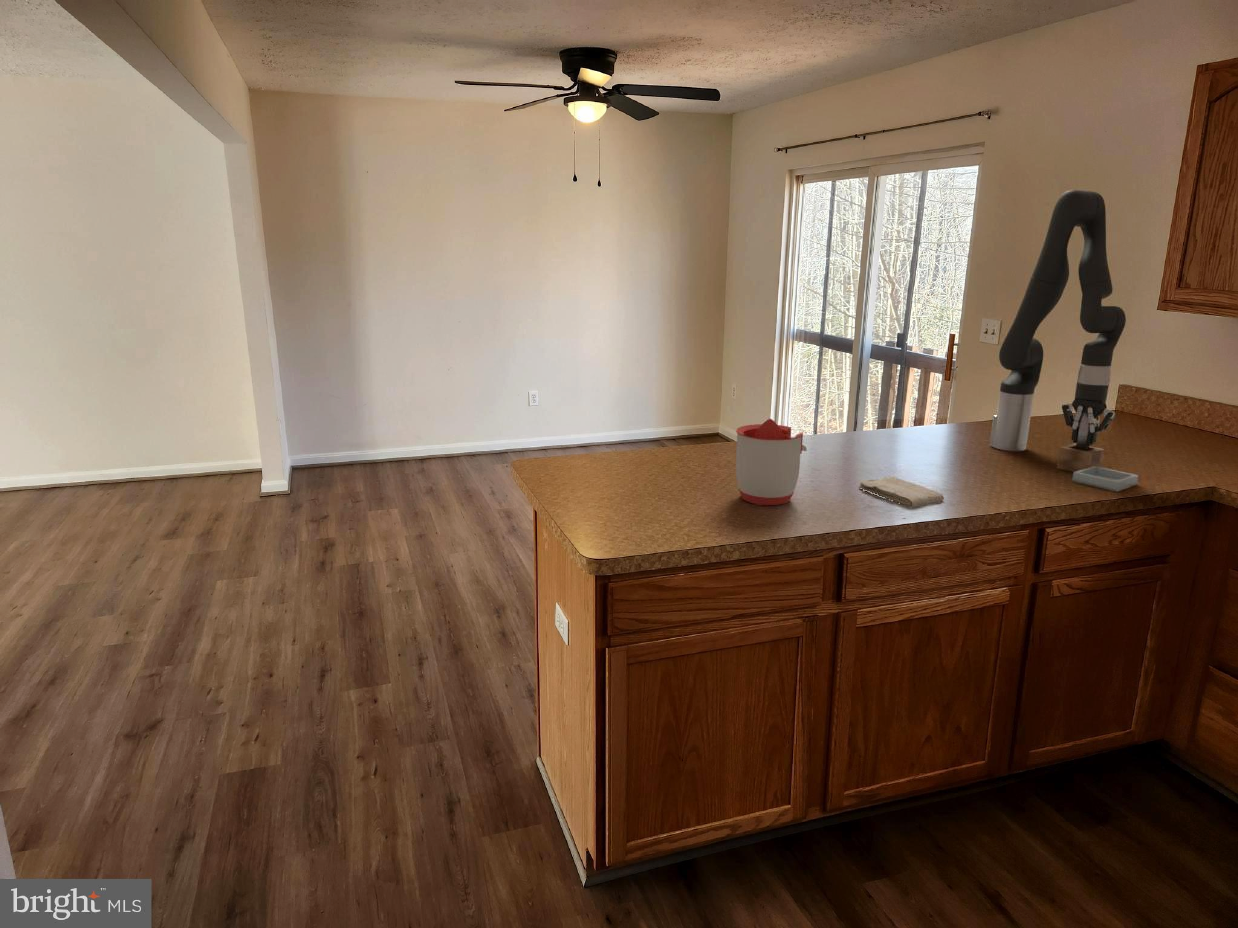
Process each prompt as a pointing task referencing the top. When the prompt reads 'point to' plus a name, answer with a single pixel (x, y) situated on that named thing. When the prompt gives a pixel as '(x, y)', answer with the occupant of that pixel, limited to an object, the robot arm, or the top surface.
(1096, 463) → the square hollow tube
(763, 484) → the citrus juicer
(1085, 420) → the pin
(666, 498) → the top surface
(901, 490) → the washcloth
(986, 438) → the top surface
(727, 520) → the top surface
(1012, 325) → the robot arm
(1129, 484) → the tray
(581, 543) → the top surface
